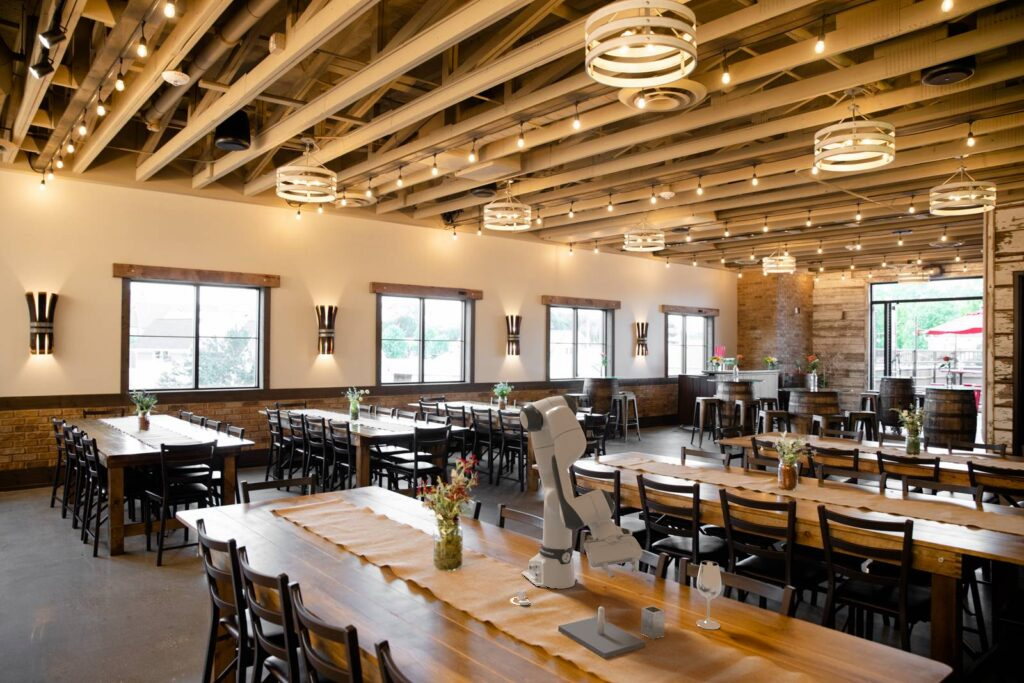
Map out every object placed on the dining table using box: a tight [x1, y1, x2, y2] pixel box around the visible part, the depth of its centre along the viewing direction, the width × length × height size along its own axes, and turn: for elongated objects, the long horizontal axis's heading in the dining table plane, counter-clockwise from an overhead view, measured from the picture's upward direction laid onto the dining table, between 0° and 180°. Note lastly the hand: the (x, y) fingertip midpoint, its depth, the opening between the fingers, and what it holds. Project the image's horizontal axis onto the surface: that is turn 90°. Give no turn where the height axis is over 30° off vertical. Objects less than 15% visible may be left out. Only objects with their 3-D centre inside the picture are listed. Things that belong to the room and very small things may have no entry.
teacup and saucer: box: [509, 588, 530, 606], centre depth 234 cm, size 9×8×4 cm
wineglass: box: [695, 560, 723, 630], centre depth 219 cm, size 8×8×20 cm
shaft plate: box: [557, 606, 646, 659], centre depth 205 cm, size 22×16×10 cm
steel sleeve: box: [640, 605, 666, 640], centre depth 209 cm, size 5×5×8 cm
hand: (624, 574), depth 219 cm, fingers open, 8 cm apart
